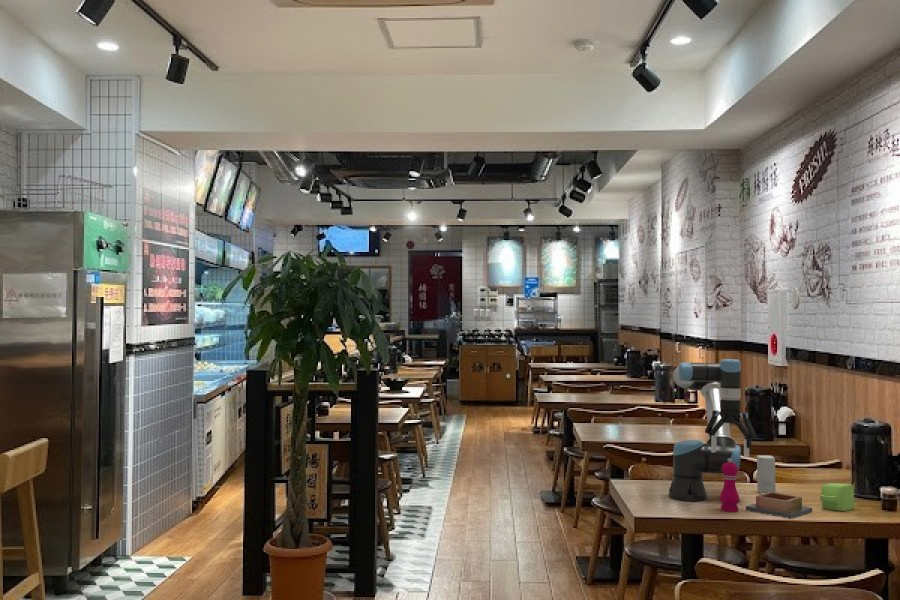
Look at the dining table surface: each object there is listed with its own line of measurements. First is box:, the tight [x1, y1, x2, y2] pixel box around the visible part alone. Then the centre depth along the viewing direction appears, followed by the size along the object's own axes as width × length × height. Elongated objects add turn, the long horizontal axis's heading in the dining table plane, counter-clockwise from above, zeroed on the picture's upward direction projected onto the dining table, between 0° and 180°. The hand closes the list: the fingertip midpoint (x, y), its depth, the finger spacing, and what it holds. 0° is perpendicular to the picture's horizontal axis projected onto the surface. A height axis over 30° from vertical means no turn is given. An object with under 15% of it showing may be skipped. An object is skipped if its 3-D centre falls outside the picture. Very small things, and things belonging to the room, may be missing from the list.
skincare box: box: [756, 454, 777, 494], centre depth 360 cm, size 8×7×16 cm
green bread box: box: [819, 482, 855, 512], centre depth 333 cm, size 18×10×10 cm, turn 133°
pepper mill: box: [719, 458, 740, 513], centre depth 325 cm, size 7×7×20 cm
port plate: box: [745, 492, 813, 519], centre depth 325 cm, size 18×18×6 cm
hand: (730, 454), depth 325 cm, fingers open, 13 cm apart
